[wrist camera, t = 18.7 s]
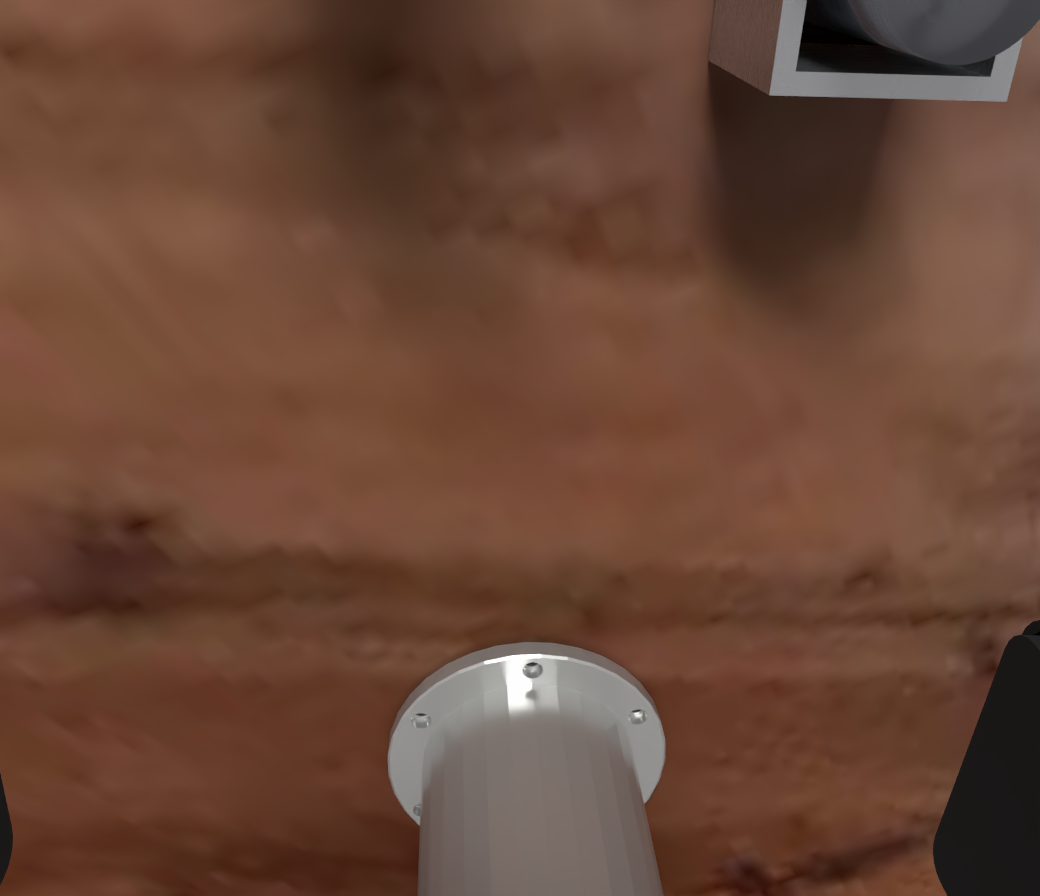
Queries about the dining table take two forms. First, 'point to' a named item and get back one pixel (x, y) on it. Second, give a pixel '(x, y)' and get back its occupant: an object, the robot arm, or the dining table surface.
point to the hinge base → (840, 60)
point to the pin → (930, 25)
